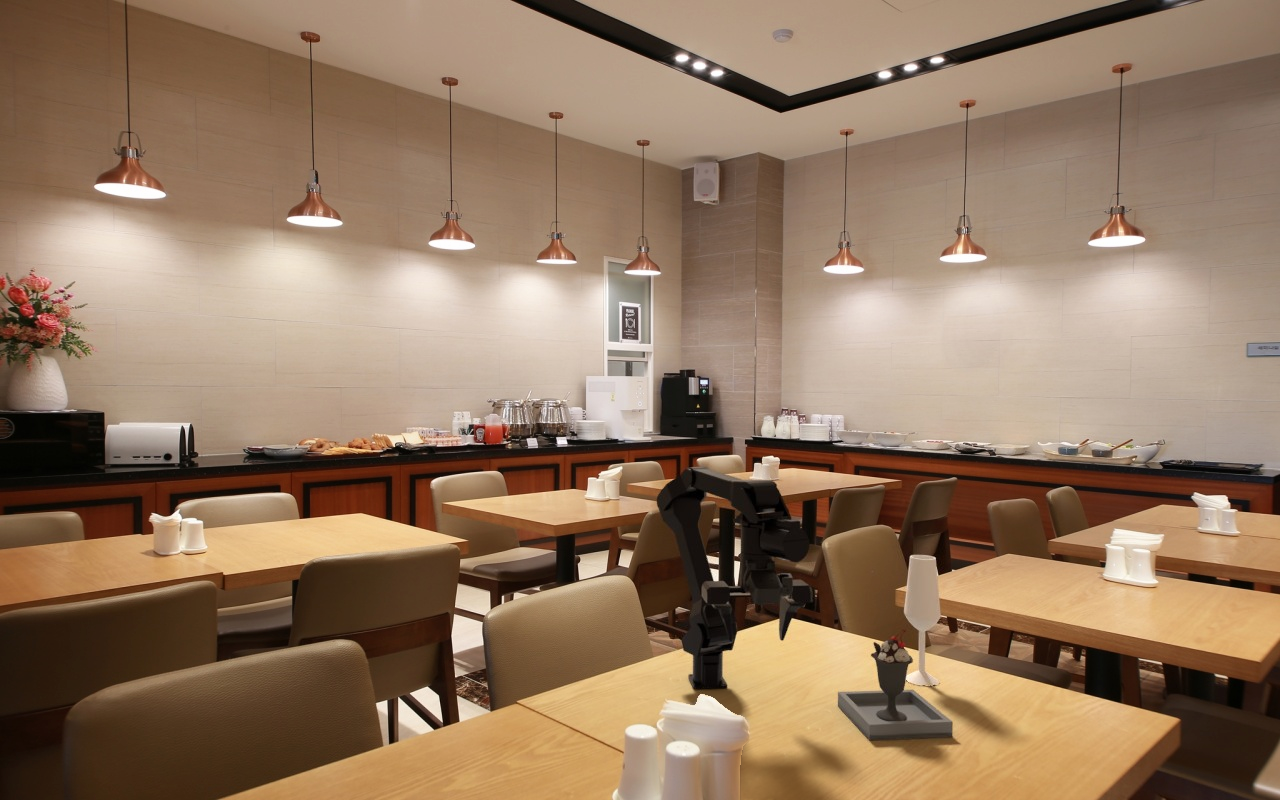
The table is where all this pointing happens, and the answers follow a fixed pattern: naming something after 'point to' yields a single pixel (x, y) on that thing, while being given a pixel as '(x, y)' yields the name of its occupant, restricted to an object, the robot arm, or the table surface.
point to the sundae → (892, 674)
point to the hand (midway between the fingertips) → (756, 640)
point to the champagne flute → (922, 608)
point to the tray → (917, 725)
